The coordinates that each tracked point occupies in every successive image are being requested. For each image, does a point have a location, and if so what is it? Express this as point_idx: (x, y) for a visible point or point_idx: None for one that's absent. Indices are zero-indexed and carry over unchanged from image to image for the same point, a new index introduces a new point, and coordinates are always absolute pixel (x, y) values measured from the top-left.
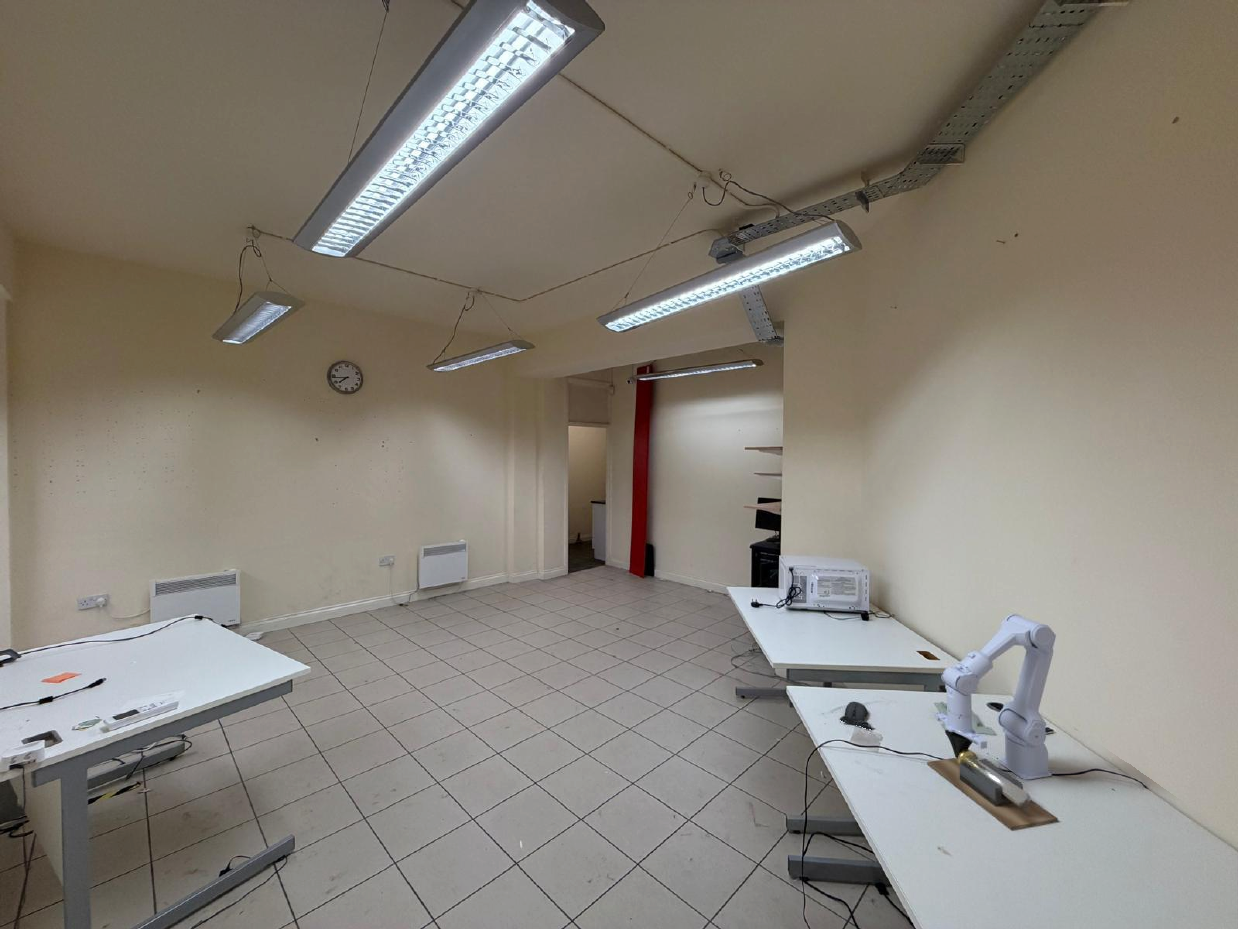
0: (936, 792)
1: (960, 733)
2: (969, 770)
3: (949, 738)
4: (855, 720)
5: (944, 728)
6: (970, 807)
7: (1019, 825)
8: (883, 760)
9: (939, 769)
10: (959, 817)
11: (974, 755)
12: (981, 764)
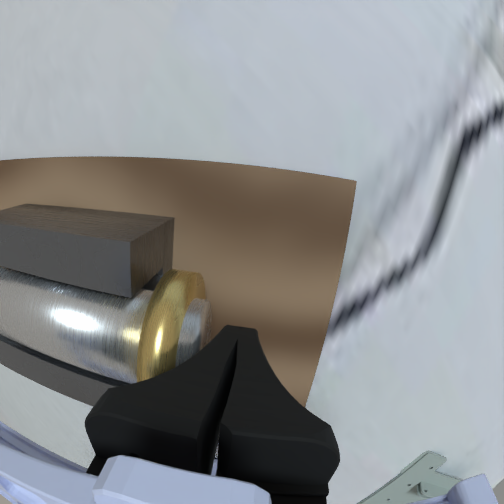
0: (166, 33)
1: (45, 480)
2: (63, 232)
3: (280, 401)
4: None
5: (434, 455)
6: (61, 110)
7: None
8: (433, 10)
9: (278, 186)
10: (54, 31)
11: None
12: (60, 339)
